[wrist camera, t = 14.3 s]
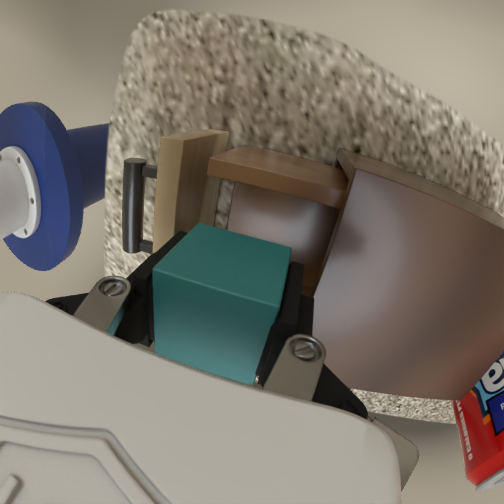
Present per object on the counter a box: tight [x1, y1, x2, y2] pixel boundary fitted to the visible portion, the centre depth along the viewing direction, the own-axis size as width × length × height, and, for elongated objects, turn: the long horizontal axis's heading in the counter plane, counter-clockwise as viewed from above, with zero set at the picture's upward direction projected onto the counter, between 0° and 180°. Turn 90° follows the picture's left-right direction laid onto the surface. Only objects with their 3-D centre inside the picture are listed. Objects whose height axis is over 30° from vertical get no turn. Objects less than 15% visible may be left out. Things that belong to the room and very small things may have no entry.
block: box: [153, 223, 292, 385], centre depth 11 cm, size 4×4×4 cm
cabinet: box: [310, 148, 504, 401], centre depth 15 cm, size 13×11×8 cm
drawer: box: [122, 129, 349, 297], centre depth 16 cm, size 16×10×7 cm, turn 79°
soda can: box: [451, 351, 504, 492], centre depth 14 cm, size 8×8×15 cm
